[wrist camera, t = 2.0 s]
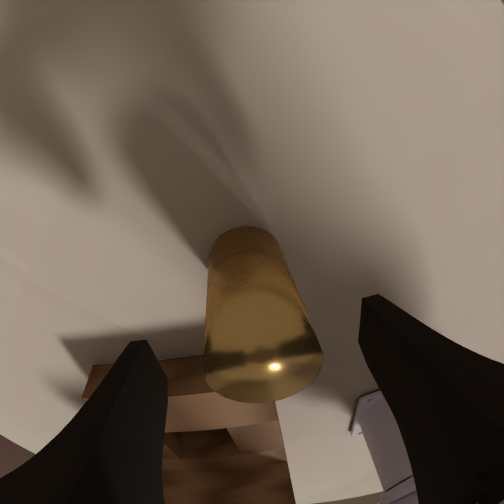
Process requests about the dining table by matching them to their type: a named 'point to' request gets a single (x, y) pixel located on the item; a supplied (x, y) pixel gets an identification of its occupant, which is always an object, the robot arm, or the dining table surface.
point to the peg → (256, 322)
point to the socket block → (215, 442)
